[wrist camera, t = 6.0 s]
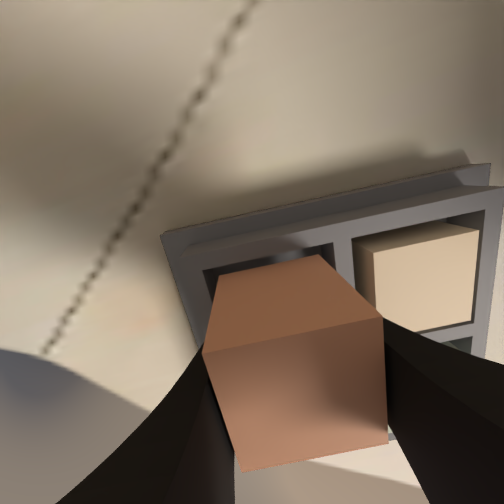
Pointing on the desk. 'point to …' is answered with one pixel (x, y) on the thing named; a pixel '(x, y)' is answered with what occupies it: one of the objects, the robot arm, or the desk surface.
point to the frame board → (336, 241)
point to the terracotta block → (296, 363)
